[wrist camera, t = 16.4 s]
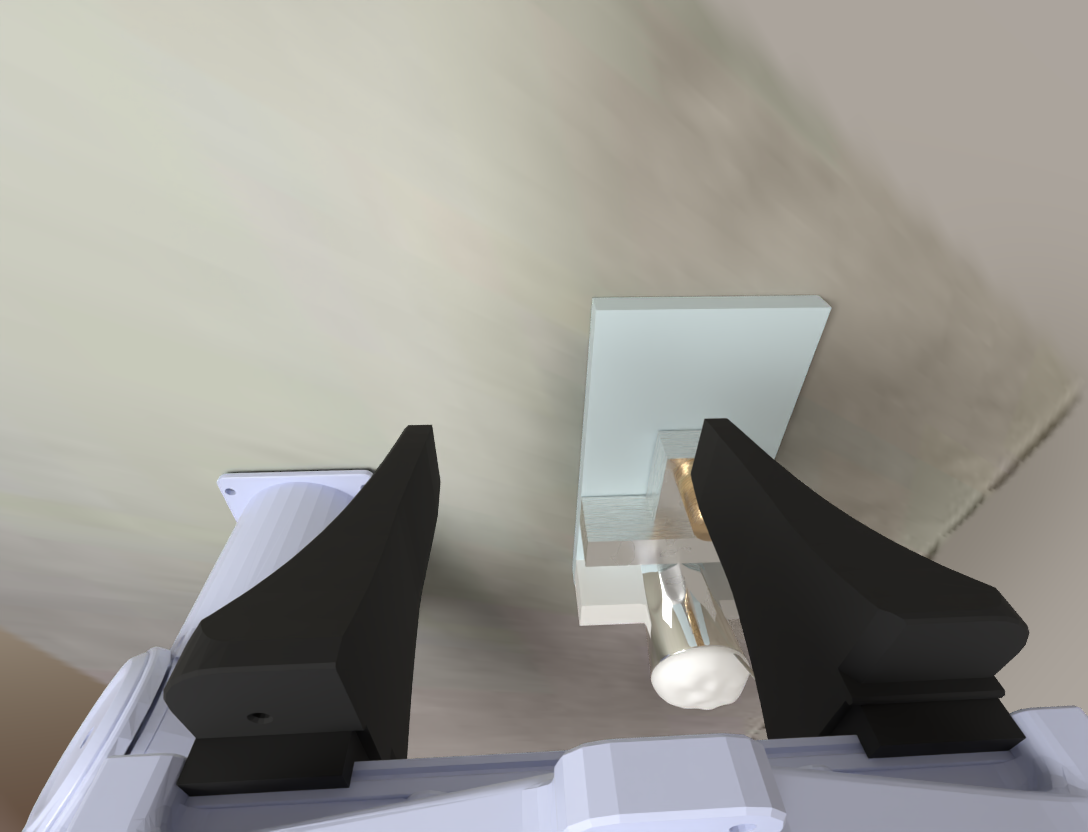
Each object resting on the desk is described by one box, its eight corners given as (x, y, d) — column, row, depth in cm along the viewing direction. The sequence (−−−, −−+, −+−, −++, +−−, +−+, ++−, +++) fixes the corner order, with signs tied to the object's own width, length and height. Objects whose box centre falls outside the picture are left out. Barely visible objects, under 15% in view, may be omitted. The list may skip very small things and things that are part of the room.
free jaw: (753, 516, 30) (792, 596, 26) (579, 522, 30) (590, 605, 26) (787, 427, 26) (839, 506, 22) (586, 432, 26) (601, 513, 22)
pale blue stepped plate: (723, 563, 35) (746, 623, 32) (572, 568, 34) (579, 630, 31) (818, 295, 23) (871, 344, 20) (592, 297, 23) (607, 348, 19)
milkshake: (726, 523, 31) (802, 703, 23) (661, 571, 33) (709, 748, 25) (670, 493, 29) (732, 677, 21) (607, 546, 31) (640, 729, 23)
